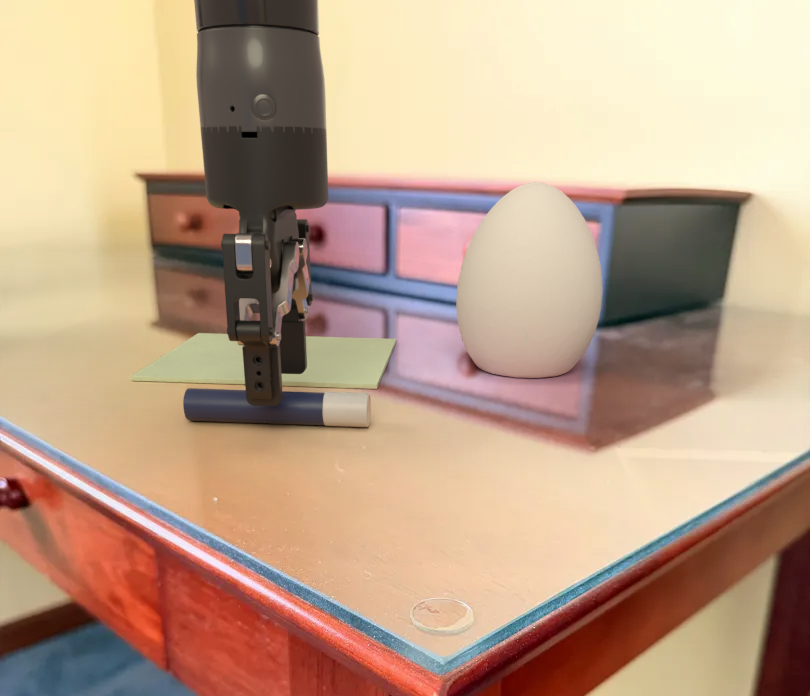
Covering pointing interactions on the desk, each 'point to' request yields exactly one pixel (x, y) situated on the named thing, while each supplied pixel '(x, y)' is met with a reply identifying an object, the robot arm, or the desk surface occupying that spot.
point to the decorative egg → (530, 285)
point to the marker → (279, 408)
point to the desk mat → (326, 367)
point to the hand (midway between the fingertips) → (279, 387)
